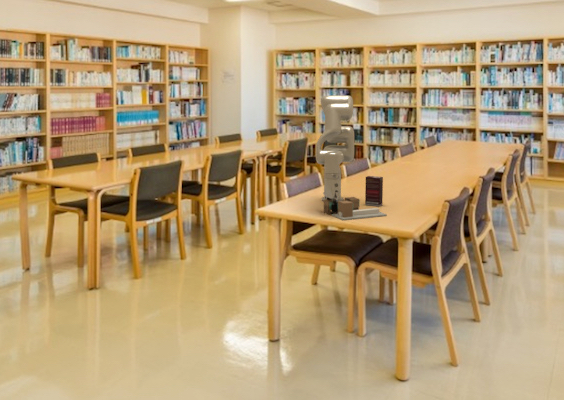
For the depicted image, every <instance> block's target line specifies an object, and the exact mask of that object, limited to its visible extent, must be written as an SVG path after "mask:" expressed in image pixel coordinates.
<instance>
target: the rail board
mask: <svg viewBox="0 0 564 400" xmlns="http://www.w3.org/2000/svg"><path fill="white" fill-rule="evenodd" d="M387 215H388V214H386V213H384V212H380V208H378V207H372V208H364V209H359V210H353V203H352V202H350V201H345V200H343V201H338V214H336V213H332V214H331V216H332V217H335V218H337V219H339V220H341V221H343V220H344V221H352V219H353V220H362V219H368V218H369V219H370V218H371V219H373V218H379V217H387Z"/></svg>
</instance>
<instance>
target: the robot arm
mask: <svg viewBox="0 0 564 400" xmlns="http://www.w3.org/2000/svg"><path fill="white" fill-rule="evenodd" d="M320 105H321V108H322V111H323V113H324V116H325V117H324V132H323V133H322V135H320V137H319V138H318V140H317V141H316V145H315V161H316V163H317V164H319V165H324V166H323V167H324V178H323V179H324V182H323V183H324V186H323V187H324V189H323V193H322V194H323V196H322V197H321V201H323V202H324V200H325V199H332V206H331V210H330V213H334V212H337V206H338V201H344V197H342V169H341V167H340V165H341V164H342V163H351V162H354V157H355V131H354V128H353V127H352V126H350V125H342V120H351V119H352V118H353V115H354V98H353V97H352V96H351V95H341V94H340V95H337V94H335V95H334V94H331V95H324V96H322V97H321V98H320ZM326 141H327V143H331V144H330V145H326V146H325V147H324V148H323V149H322V145H323V144H324V143H325V142H326ZM333 143H334V144H333ZM339 143H340V144H343V145H339ZM336 144H338V145H336ZM344 144H345V145H344ZM334 200H335V201H334Z"/></svg>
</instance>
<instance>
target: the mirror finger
mask: <svg viewBox="0 0 564 400" xmlns="http://www.w3.org/2000/svg"><path fill="white" fill-rule="evenodd" d="M344 201H350V202H352V203H353V210H360V202H361V201H360V198H359V197H358V198H357V197H354V196H351V197H350V196H349V197H344Z"/></svg>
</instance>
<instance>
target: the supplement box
mask: <svg viewBox="0 0 564 400" xmlns="http://www.w3.org/2000/svg"><path fill="white" fill-rule="evenodd" d="M383 182H384V177H383V176H374V175H367V176H365V197H364V198H365V201H364V202H365V203H364V205H365V206H372V207H381V206H383V195H384V194H383V191H384V190H383V188H384V185H383V184H384V183H383Z"/></svg>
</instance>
